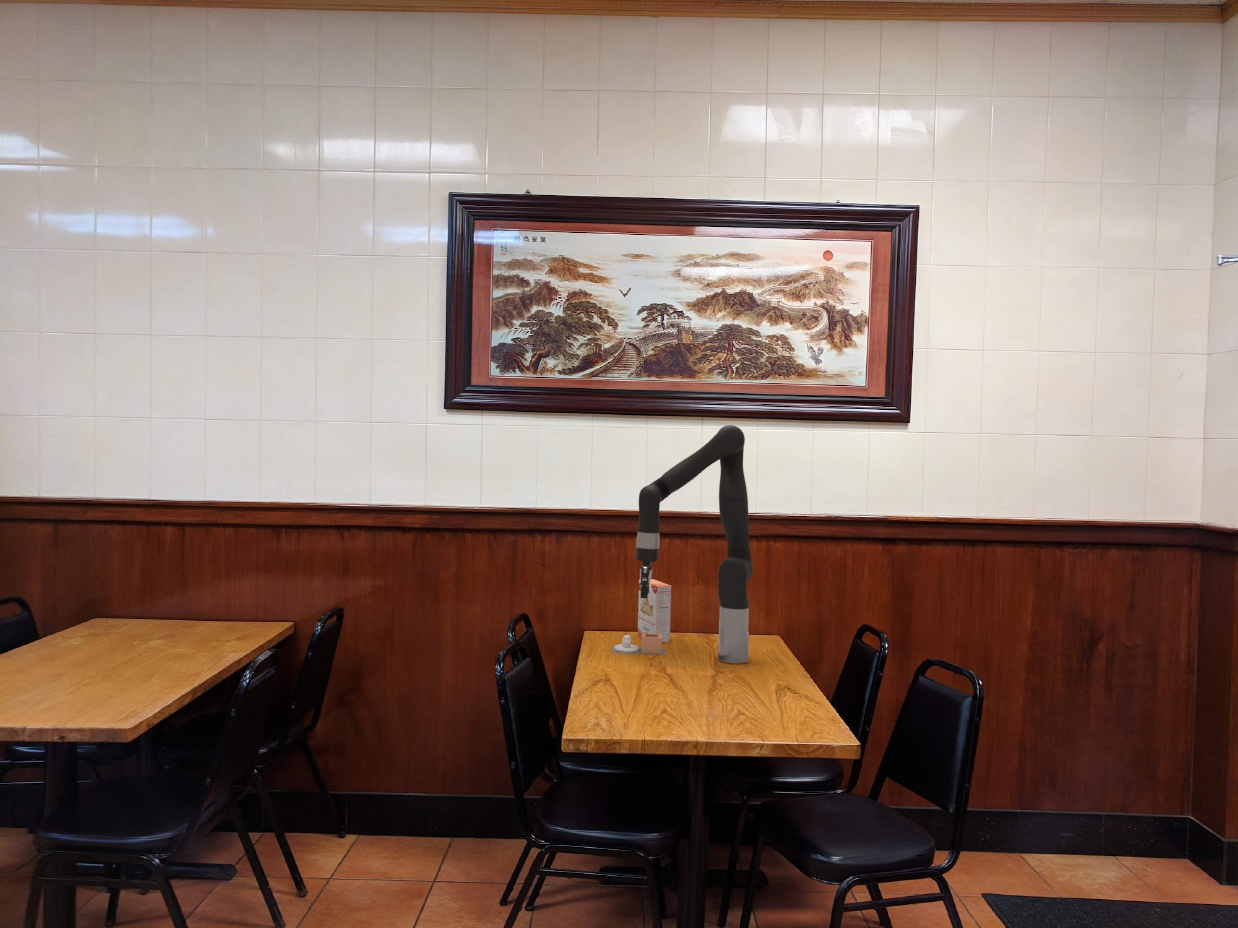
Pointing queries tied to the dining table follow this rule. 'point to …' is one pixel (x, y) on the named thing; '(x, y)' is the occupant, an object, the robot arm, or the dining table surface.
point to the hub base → (631, 647)
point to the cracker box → (655, 610)
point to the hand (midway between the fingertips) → (644, 595)
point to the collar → (651, 643)
